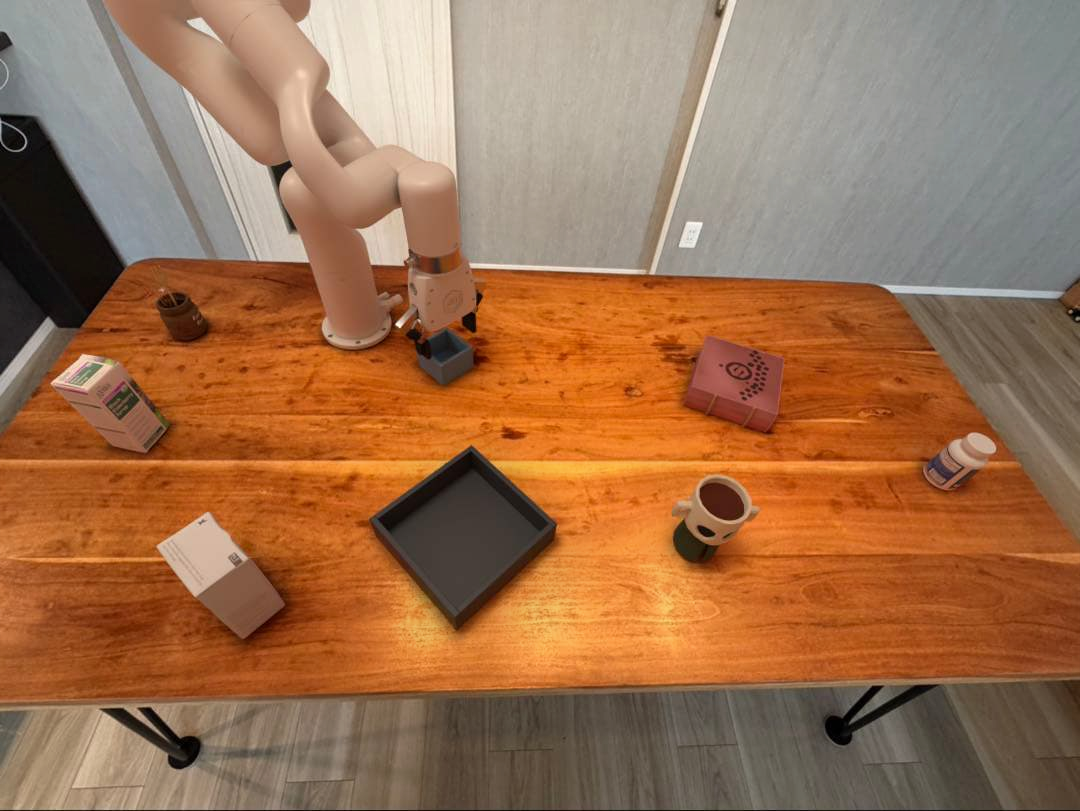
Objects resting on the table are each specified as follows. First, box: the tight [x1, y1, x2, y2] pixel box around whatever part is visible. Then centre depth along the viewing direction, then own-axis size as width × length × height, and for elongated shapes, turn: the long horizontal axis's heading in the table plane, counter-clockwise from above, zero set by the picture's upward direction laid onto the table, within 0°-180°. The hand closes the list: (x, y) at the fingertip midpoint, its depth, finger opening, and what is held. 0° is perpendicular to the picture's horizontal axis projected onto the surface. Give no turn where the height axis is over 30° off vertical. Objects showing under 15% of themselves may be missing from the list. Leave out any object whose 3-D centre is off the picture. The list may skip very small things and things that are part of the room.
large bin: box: [368, 444, 558, 631], centre depth 70 cm, size 18×18×5 cm
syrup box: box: [50, 353, 171, 454], centre depth 74 cm, size 6×6×14 cm
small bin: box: [416, 326, 474, 387], centre depth 91 cm, size 7×7×5 cm
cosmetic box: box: [156, 511, 286, 640], centre depth 59 cm, size 8×6×15 cm
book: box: [683, 334, 786, 433], centre depth 92 cm, size 14×15×5 cm
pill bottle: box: [922, 432, 997, 492], centre depth 81 cm, size 5×5×10 cm
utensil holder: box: [149, 264, 208, 341], centre depth 90 cm, size 6×6×12 cm
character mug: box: [671, 473, 761, 564], centre depth 69 cm, size 11×7×13 cm, turn 88°
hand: (447, 341), depth 88 cm, fingers open, 9 cm apart
